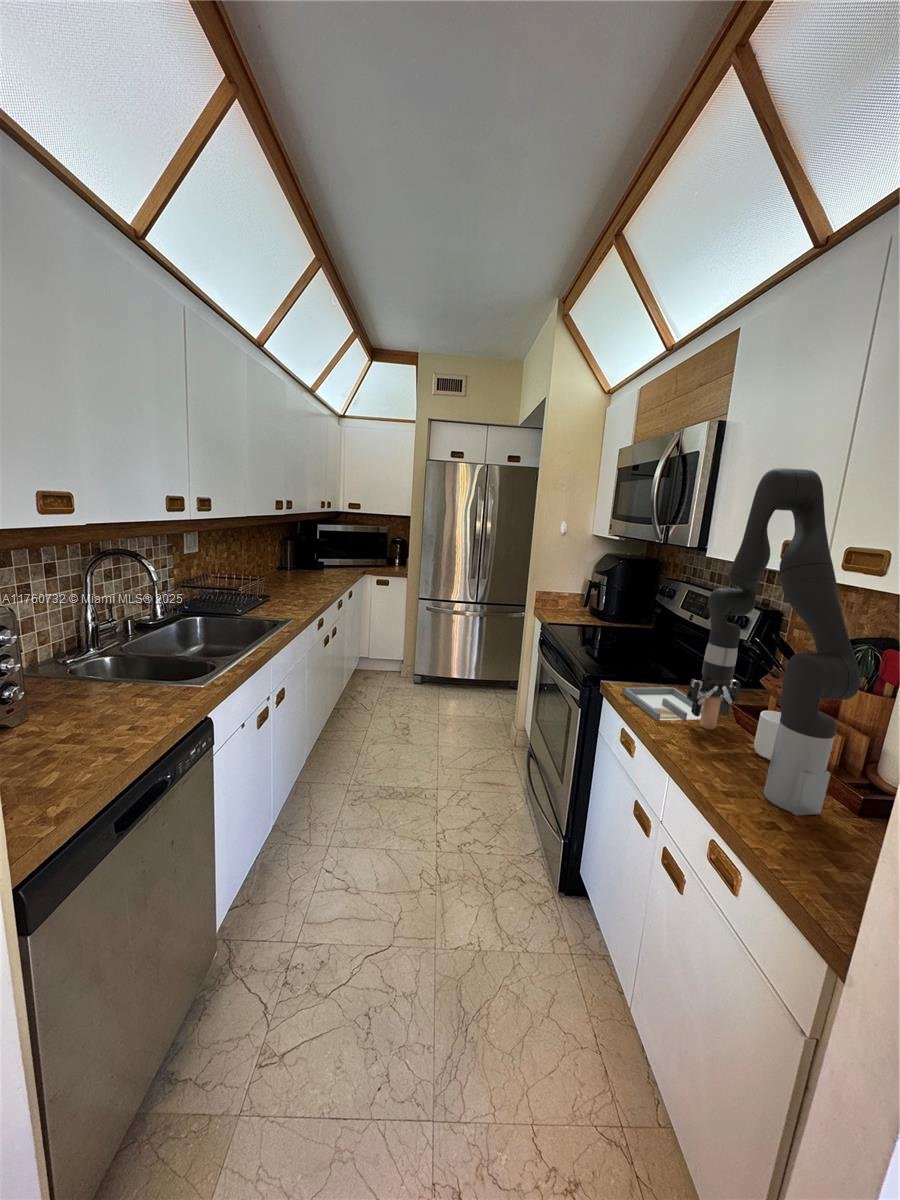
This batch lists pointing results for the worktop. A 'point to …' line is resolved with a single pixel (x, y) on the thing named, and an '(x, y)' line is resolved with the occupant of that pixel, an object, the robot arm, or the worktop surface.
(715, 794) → the worktop surface
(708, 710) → the peg
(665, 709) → the pad
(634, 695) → the grey shallow tray
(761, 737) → the cup
